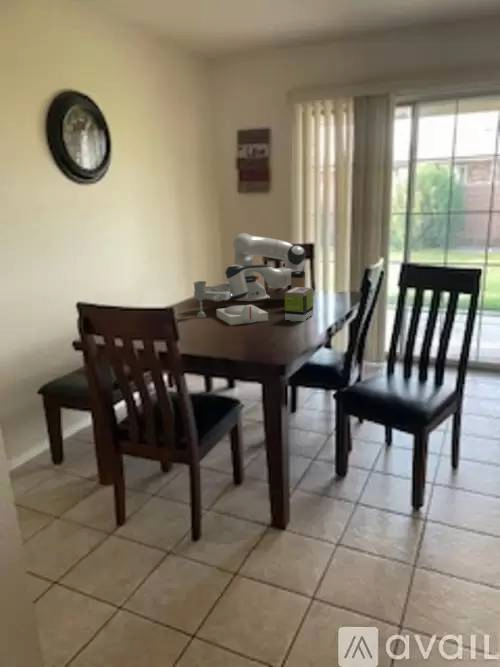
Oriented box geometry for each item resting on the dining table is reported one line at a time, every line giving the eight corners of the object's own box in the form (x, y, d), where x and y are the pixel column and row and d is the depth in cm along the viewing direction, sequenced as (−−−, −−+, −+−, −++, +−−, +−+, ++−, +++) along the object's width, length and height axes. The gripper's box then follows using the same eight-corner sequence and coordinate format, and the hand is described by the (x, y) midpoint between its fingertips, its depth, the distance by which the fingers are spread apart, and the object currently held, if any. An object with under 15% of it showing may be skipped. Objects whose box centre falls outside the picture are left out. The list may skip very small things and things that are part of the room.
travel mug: (306, 307, 276) (306, 271, 270) (303, 310, 269) (303, 273, 264) (292, 306, 278) (292, 271, 273) (289, 309, 271) (289, 273, 266)
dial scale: (252, 312, 266) (251, 295, 264) (269, 321, 247) (269, 303, 245) (216, 316, 259) (216, 299, 256) (231, 325, 240) (231, 307, 237)
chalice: (195, 315, 263) (193, 281, 258) (208, 314, 264) (206, 280, 259) (194, 318, 256) (192, 283, 251) (208, 317, 257) (206, 283, 252)
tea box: (295, 314, 261) (295, 286, 257) (313, 315, 256) (314, 287, 252) (284, 320, 248) (284, 291, 244) (303, 322, 243) (303, 292, 239)
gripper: (235, 299, 268) (222, 304, 256) (202, 298, 277) (188, 302, 265) (234, 288, 266) (222, 292, 254) (201, 286, 275) (188, 291, 263)
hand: (204, 297), depth 259 cm, fingers open, 8 cm apart
